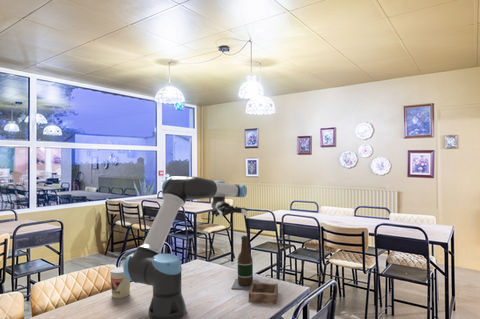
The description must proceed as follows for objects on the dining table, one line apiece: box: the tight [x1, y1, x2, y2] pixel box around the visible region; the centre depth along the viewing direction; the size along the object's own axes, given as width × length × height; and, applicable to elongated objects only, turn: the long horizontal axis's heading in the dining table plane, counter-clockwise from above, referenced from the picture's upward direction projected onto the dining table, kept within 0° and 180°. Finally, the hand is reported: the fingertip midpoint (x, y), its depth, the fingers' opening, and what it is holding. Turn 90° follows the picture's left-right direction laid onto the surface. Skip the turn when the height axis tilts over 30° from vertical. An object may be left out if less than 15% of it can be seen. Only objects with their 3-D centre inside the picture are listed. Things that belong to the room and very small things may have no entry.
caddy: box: [248, 282, 279, 305], centre depth 146 cm, size 12×12×4 cm
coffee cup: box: [109, 265, 131, 299], centre depth 150 cm, size 9×9×12 cm
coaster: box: [231, 278, 259, 291], centre depth 160 cm, size 12×12×1 cm
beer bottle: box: [237, 235, 254, 286], centre depth 160 cm, size 8×8×24 cm
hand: (234, 213), depth 167 cm, fingers open, 13 cm apart
